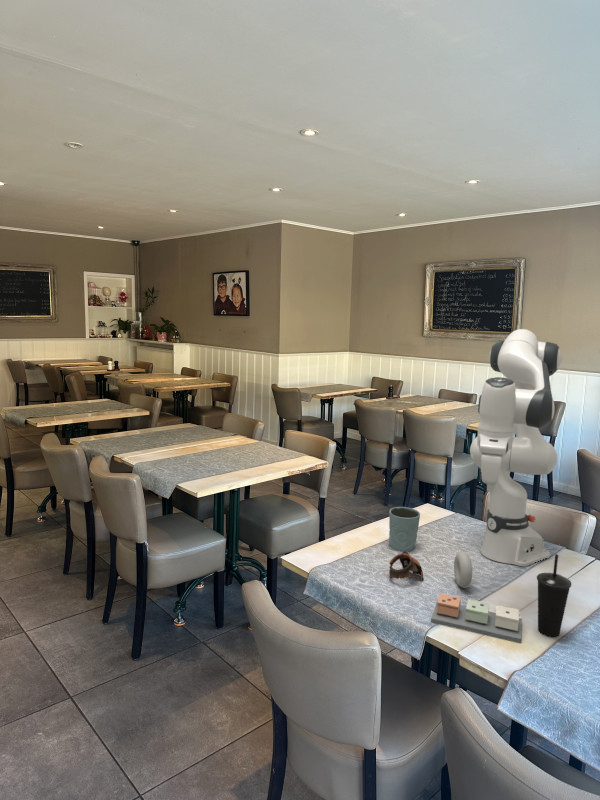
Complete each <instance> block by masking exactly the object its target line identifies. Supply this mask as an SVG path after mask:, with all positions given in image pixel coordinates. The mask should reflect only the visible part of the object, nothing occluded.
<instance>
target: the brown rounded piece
mask: <svg viewBox="0 0 600 800" xmlns="http://www.w3.org/2000/svg"><path fill="white" fill-rule="evenodd" d="M409 553H410V552H409V551H408V552H407V551H404V552H403V551H401V553H399V554H397V555H395V556H393V557H392V558H391V560H389V564H390V565H389V567H388V569H389V570H388V571H389V573H388V575H389V577H390V579H392V578H393V579H396V580H398V579H404V578H407V579H411V573H410V572H412V574H414V575H419V576H420V578H421V582H424V581H425V580H424V579H425V577H424V571H423V568H422V566H421V564H420V562H419V560H417V558H415V557H413V556H411V555H410V554H409ZM397 561H399V562H400V564H401V567H402V568H400V569H395V568H393V565H394V564H395V563H396V562H397Z"/></svg>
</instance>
